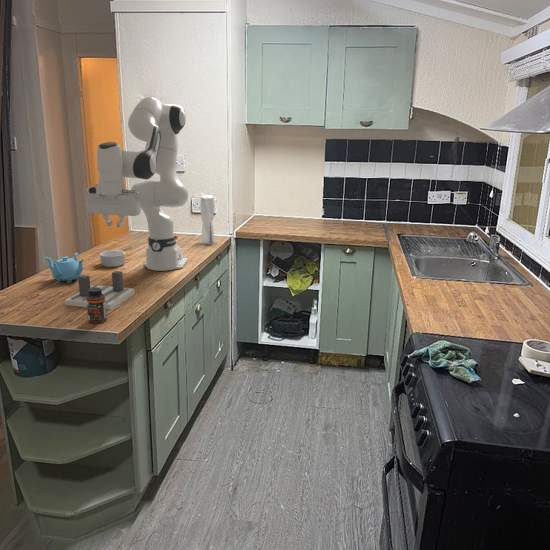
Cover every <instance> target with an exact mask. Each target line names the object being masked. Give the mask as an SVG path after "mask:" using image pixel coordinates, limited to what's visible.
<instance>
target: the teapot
mask: <svg viewBox="0 0 550 550" xmlns="http://www.w3.org/2000/svg"><path fill="white" fill-rule="evenodd" d="M78 254H79V252H75V253H74V255H73V258H72V257H70V258H69V256H62V257H61V258H59V259H57V260H56V261H55V262H53V260H52V258H51V257H49V256H44V258H45V259H46V260H47V261H48V267H49V269H50V271H51V276H52V278H54V279H55V280H56V283H61V282H62V281H63V282H64V281H66V284H72V283H73V281H74V280H75V281H76V280H77V281H78V277H79V276H81V275H82V273H83V270H84V267H83V261H84V260H85V259H84V258H83V259H80V260H79V261H78ZM72 280H73V281H72Z"/></svg>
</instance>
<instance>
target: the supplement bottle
mask: <svg viewBox="0 0 550 550" xmlns="http://www.w3.org/2000/svg"><path fill="white" fill-rule="evenodd" d="M86 300H87V307H86V310H87V320H88V321H87V322H89V323H90V324H101V323H104V322H105V321H106V320H107V310H106V304H105V296H104V295H103V294H102V291H101V288H97V287H96V288H91V289H89V295H88V296H87V298H86Z"/></svg>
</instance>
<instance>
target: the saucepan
mask: <svg viewBox="0 0 550 550" xmlns="http://www.w3.org/2000/svg"><path fill="white" fill-rule="evenodd" d="M132 248H133V246H128V247H125V248H123V249H122V250H119V249H117V250H116V249H113V250H104V251H102V252H100V253H98V255H99V257H100V265H101V266H103V267H106V268H117V267H121V266H123V265H124V264H125V263H126V262H125V261H126V260H125V259H126V258H125V254H126V252H127V251H128V250H130V249H132Z"/></svg>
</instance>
